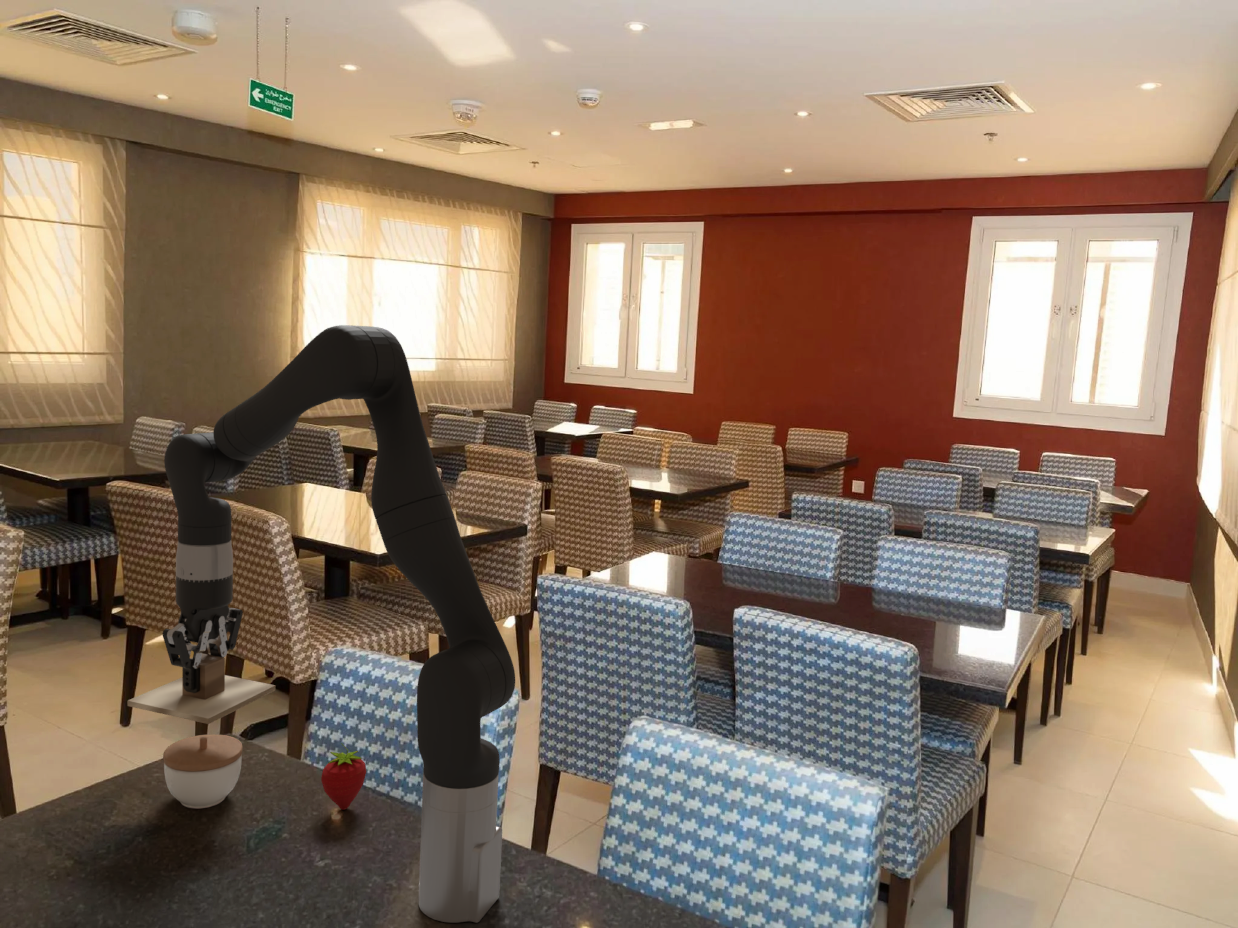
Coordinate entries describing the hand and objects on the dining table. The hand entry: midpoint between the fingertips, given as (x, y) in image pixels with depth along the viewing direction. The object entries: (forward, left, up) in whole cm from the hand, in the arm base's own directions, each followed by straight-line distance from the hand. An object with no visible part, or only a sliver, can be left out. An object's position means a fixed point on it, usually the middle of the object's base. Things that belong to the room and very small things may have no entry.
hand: (204, 685), depth 141 cm
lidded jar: (0, 0, -18) cm, 18 cm away
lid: (0, 0, -2) cm, 2 cm away
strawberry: (-20, -6, -18) cm, 27 cm away
